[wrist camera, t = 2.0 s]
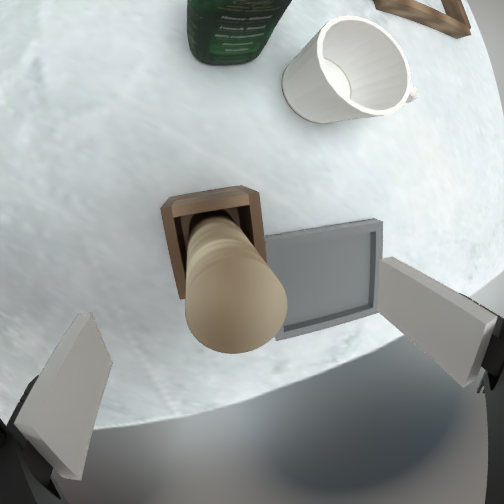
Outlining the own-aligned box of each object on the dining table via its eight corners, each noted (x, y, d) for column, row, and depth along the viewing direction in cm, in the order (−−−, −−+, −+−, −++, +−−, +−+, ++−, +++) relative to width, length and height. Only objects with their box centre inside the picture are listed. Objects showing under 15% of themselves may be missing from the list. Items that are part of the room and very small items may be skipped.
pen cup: (182, 265, 30) (179, 299, 22) (169, 197, 27) (160, 208, 20) (250, 253, 31) (269, 282, 23) (241, 185, 28) (259, 192, 21)
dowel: (193, 253, 28) (197, 361, 12) (185, 210, 27) (174, 273, 11) (236, 245, 29) (290, 342, 13) (230, 202, 28) (283, 253, 12)
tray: (272, 332, 34) (276, 341, 32) (261, 236, 30) (265, 241, 29) (371, 306, 36) (378, 312, 35) (374, 218, 32) (382, 221, 31)
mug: (269, 114, 27) (307, 91, 17) (285, 42, 25) (324, -1, 15) (361, 143, 30) (422, 140, 20) (371, 76, 27) (429, 55, 18)
